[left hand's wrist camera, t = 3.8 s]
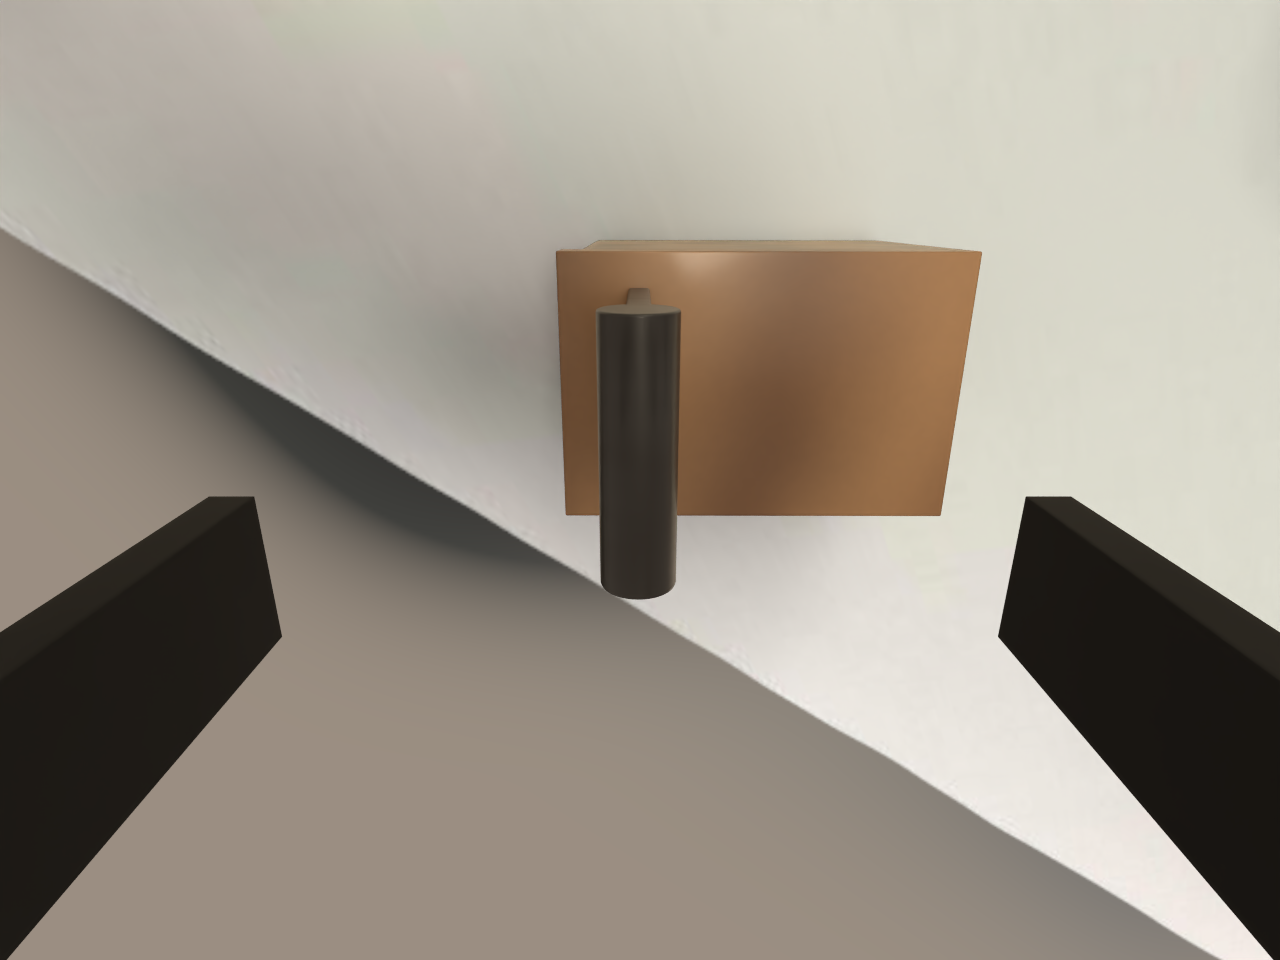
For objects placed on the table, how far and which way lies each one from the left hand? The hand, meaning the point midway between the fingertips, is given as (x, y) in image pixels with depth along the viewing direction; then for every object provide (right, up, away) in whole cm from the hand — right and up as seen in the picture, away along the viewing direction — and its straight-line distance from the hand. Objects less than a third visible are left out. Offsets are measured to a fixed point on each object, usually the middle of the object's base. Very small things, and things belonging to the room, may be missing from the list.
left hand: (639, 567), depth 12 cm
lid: (+4, +5, +14) cm, 15 cm away
